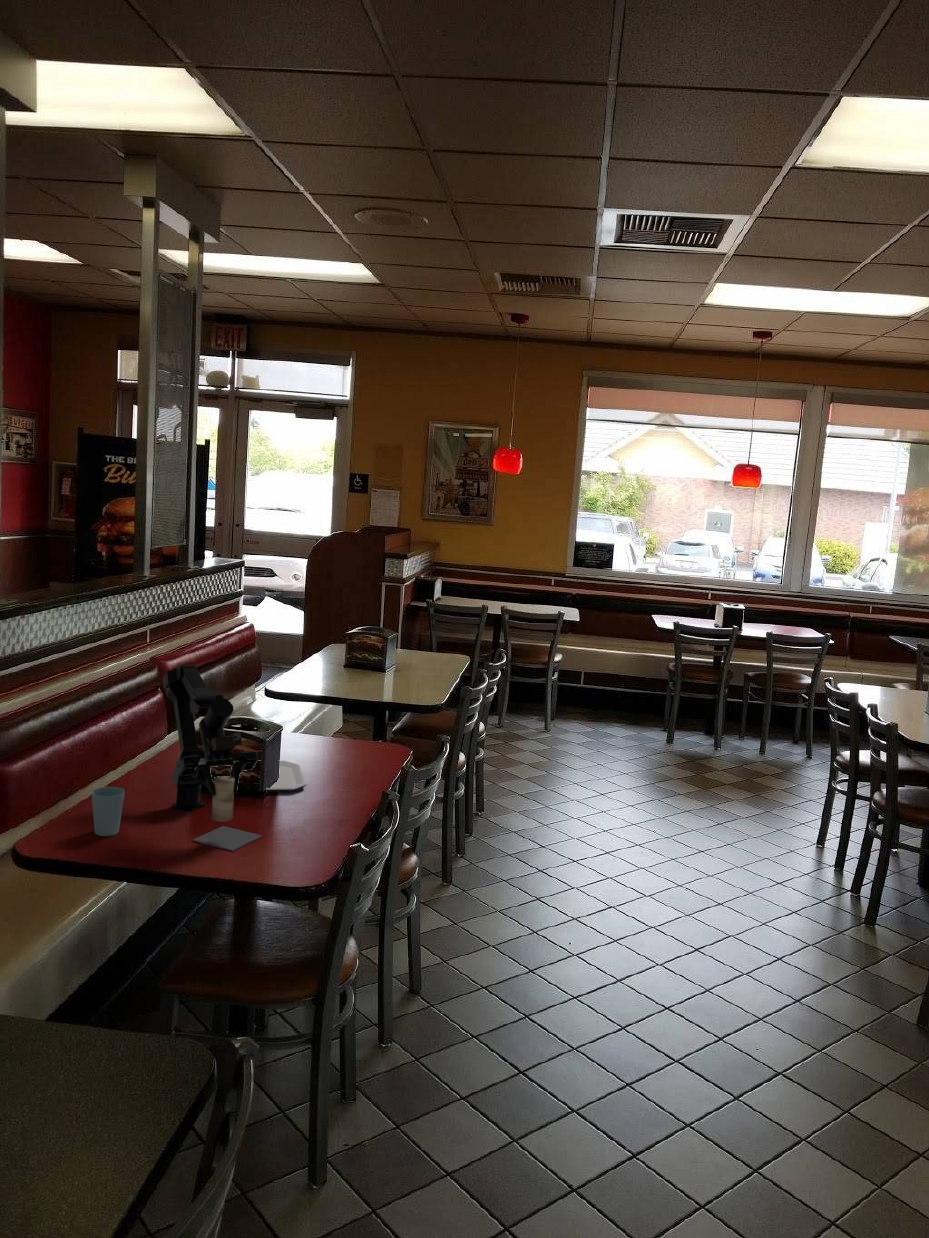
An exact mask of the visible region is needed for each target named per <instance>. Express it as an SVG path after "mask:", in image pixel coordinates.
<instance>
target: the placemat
mask: <svg viewBox="0 0 929 1238" xmlns="http://www.w3.org/2000/svg"><path fill="white" fill-rule="evenodd" d="M261 838H263V835H261V834H258V833H254V832H248V831H245V830H241V829H236V828H234V827H228V826H225V825H222V826H220V827H218V828H216V829H213V830H211V831H209V832H207V833H205V834H202V835H199V836H197V837H195V838H193V839H192V842H193V843H194V842H195V843H197V844H201V845H202V844H203V845H206V846H210V847H213V848H217V849H222V850H225V851H229V852H232V853H233V852H236V851H237V850H239V849H241V848H243V847H245V846H248V845H250V844H252V843H253V842H255V841H257V840H259V839H261Z"/></svg>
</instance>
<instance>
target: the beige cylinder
mask: <svg viewBox="0 0 929 1238" xmlns="http://www.w3.org/2000/svg"><path fill="white" fill-rule="evenodd" d="M234 782H235V778H234V777H231V776H217V777H214V781H213V783H214V786H215V792H216V794H215V796H213V795H212V804H211V807H212V808H211V820H213V821H216V822H229V821H231V820H233V818H234V817H233V815H234V798H235V797H234V796H235V793H234Z"/></svg>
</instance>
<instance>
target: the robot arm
mask: <svg viewBox="0 0 929 1238" xmlns="http://www.w3.org/2000/svg"><path fill="white" fill-rule="evenodd" d="M161 683H162V687H163V688H164V691H165V695H166V697H167V698H168V699H169V700H170V701H171V703H173V709H174V714H175V721H176V722H175V723H176V728H177V729H176V730H177V735H178V740H179V749H180V753H179V755H178V758H177V760H176V762H175V763H176V764H175V766H174V768H173V771H172V773H171V784H172V785H174V787H176V789H177V790H176V795H175V796H176V798H175V799H176V800H175V803H173V804H171V806H172V807H173V808H177V809H182V810H186V811H194V810H196V809H198V808H201V807H202V806H203V807H204V806H206V802H204V801H202V786H204V787H206V789H207V790H208V791H209V793H210V794H211V795H212V797H213V796H215V794H216V792H215V786H214V783H213V779H212V775H211V768H210V767H218V766H231V769H232V770H231V772H230V776H231V777H234V778H235V782H234V794H238V793H237V790H238V783H239V776H240V774H241V773H242V771H247V770H252V769H253V768H254V767H255V765H256V763H257V761H260V760H259V759H260V758H259V755H258V753H257V752H256V751H255V750H246V751H244V750H243V751H240V753H239V755H238V756H233V757H231V756H232V754H233V750H236V747H241V746H242V745H243V740H242V735H241V732H232V734H230V735H226V734H225V730H224V727H226V726H227V724H228V722H229V721H230V718H231V716H232V714H233V712H234V705H233V704H232V702H231V701H229V700H228V699H226V698H225V697H224V696H223V695H224V694H219V693H218V692H217V691H215V690H213V689H210V688H208V686H207V685H206V682H205V681H204V679H203V677H202V675H201V674H200V672H199V667H198V665H195V664H181V665H178V666H177V667H175V668H173V669H171V670H168V671H166V672H165V673H164V675H163V676H162V682H161ZM194 718H201V719H200V721H199V723H198V727H199V728H198V732H200V736H201V741H202V742H201V743H202V748H200V747H199V746H198V745H199V744H198V737H197V730H196V726H195V725H196V724H195V719H194Z"/></svg>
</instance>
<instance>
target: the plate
mask: <svg viewBox="0 0 929 1238" xmlns="http://www.w3.org/2000/svg"><path fill="white" fill-rule="evenodd" d="M279 761H280V773H279V778H278V780H277V782H275V783H274V784H273V785H272V786H271V787H270V788H266V791H267V792H266V793H288V792H293V791H296V790H298V789H301V788H305V787H306V786H307V781H306V778H305V776H304V773H303V771H302V768H301V765H300V764H299V763H294V762H291V761H287V760H279ZM237 791H238V790H237Z"/></svg>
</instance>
